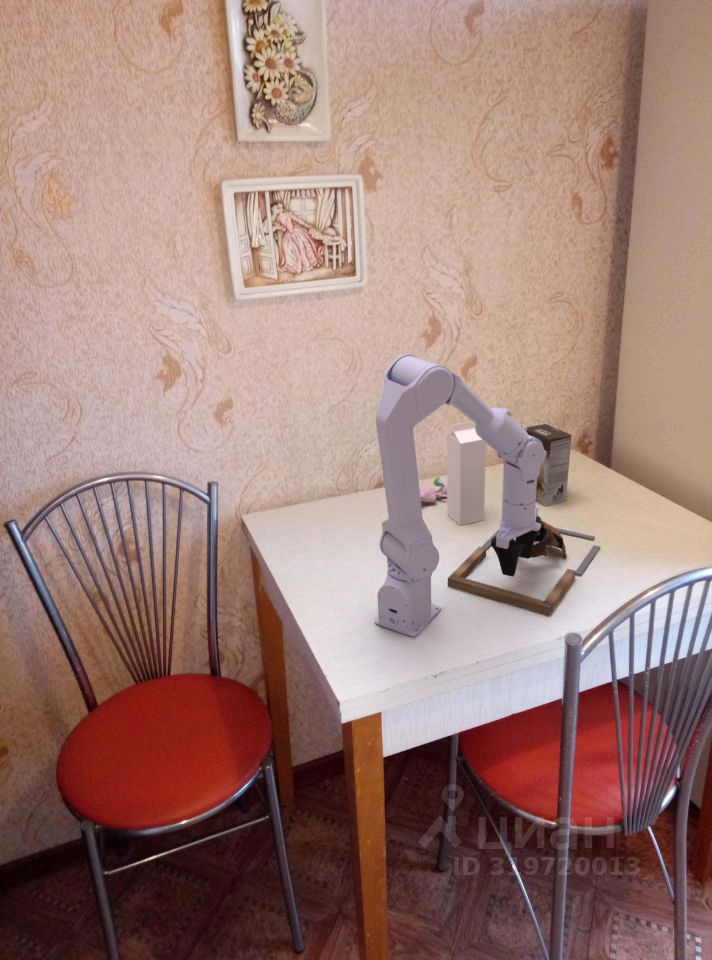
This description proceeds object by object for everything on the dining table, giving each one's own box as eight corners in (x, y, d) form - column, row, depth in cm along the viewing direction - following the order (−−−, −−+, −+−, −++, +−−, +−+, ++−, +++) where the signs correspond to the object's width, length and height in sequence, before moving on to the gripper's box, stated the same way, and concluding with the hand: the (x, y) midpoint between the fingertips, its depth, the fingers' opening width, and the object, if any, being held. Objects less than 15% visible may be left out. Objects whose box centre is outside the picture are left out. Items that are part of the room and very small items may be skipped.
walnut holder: (549, 616, 114) (549, 607, 113) (447, 586, 124) (447, 578, 124) (575, 579, 124) (575, 570, 123) (479, 554, 134) (479, 546, 134)
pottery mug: (575, 567, 129) (560, 540, 124) (528, 585, 132) (512, 559, 127) (559, 525, 138) (545, 498, 134) (516, 542, 141) (501, 516, 137)
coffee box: (519, 492, 160) (522, 427, 153) (541, 486, 162) (545, 422, 156) (544, 507, 152) (549, 439, 146) (567, 500, 154) (572, 433, 148)
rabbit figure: (446, 494, 164) (395, 500, 157) (450, 471, 163) (398, 476, 155) (463, 503, 159) (411, 510, 152) (466, 479, 158) (414, 485, 150)
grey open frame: (580, 576, 125) (581, 574, 125) (479, 550, 136) (479, 548, 136) (605, 540, 137) (605, 538, 136) (510, 519, 147) (510, 517, 147)
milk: (446, 515, 151) (446, 420, 143) (471, 509, 153) (471, 416, 144) (460, 526, 146) (460, 428, 137) (485, 520, 148) (486, 423, 139)
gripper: (525, 519, 112) (521, 590, 117) (555, 487, 123) (551, 553, 128) (485, 511, 115) (484, 579, 121) (518, 480, 126) (515, 544, 132)
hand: (516, 565), depth 125 cm, fingers open, 7 cm apart
